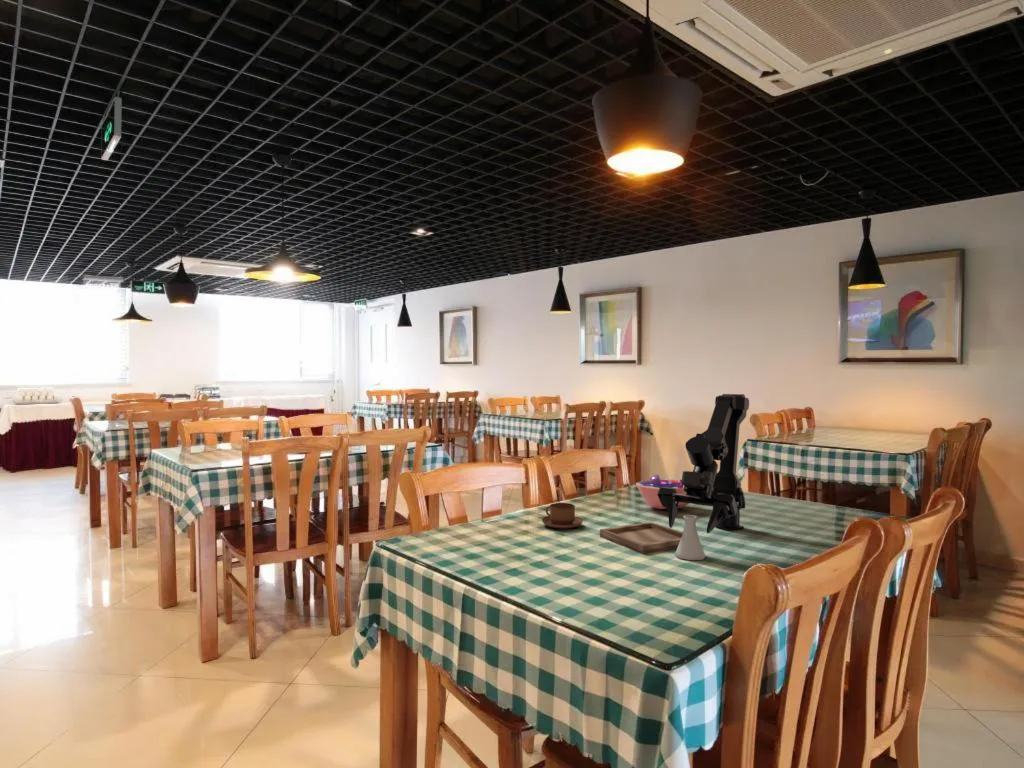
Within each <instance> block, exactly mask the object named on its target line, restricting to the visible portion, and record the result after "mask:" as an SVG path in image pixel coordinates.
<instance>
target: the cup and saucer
mask: <svg viewBox="0 0 1024 768" xmlns="http://www.w3.org/2000/svg"><path fill="white" fill-rule="evenodd" d="M575 509H576V506H575V504H573V503H568V502H554V503H551V504H549V506H547V507H545V513H546V515H547V516H544V517H543V518H541V521H542V523H543V524H544V525H545V526H547V527H549V528H554V529H560V530H562V529H565V530H567V529H573V528H577V527H579V526H581V525H582V524H583V519H582V518H581V517H579V516H576V515H575V513H576V510H575ZM548 510H549V512H548Z"/></svg>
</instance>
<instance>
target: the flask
mask: <svg viewBox="0 0 1024 768" xmlns="http://www.w3.org/2000/svg"><path fill="white" fill-rule="evenodd" d="M682 518H683V519H684V525H683V531H682V532H683V534H682V537H681V540H680V543H679V545H678V548H676V551H675V554H674V556H676V557H677V558H678V559H682V560H688V561H702V560H704V559H705V558H706V554H705V550H704V548H703V546H702V543H701V541H700V538H699V533H698V531H697V518H698V516H697V515H694V514H693V515H692V514H684V515H683V517H682Z"/></svg>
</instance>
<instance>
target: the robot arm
mask: <svg viewBox="0 0 1024 768" xmlns="http://www.w3.org/2000/svg"><path fill="white" fill-rule="evenodd" d="M714 404H715V405H714V409H713V410H712V411H713V412H712V413H711V417H710V420H709V424H708V427H707V428H706V430H705V431H703V432H701V433H696V434H695V436H693V437H691V438H689V439H688V440H687V441H686V442H685V450H686V452H687V455H688V458H689V461H690V463H691V465H693V469H692V471H690V470H689V471H687V470H683V471H682V477H681V480H682V481H681V484H683V485H684V488H683V489H684V492H687V493H686V495H685V494H677V492H676V490H675V488H668V487H661V488H660V489H659V491H658V494H657V495H658V497H659V500H660V502H661V504H662V506H663V507H665V508H666V509H665V510H667V514H668V526H669V528H671V529H673V527H674V523H675V521H676V517H677V515H678V511H679V510H678V509H679V508H677V507H678V505H679V502H683V503H689V504H692V505H697V506H703V507H705V506H706V507H712V511H711V514H710V517H709V519H708V523H707V526H706V533H707V534H710V533H711V532H712V531H713V530H714V529H715V528H719V529H721V530H726V531H734V530H740V529H744V527H745V526H744V525H742V524H741V525H740V522H741V521H740V520H741V519H740V518H741V517H740V516H741V515H740V513H741V512H740V511H741V510H743V509H746V498H745V494H744V491H743V488H742V483H741V480H740V478H739V477H738V475H737V466H738V465H737V464H738V450H739V438H740V429H741V428H740V425H741V424H742V422H743V421H744V420H745V419H746V418H747V411H748V410H749V408H750V399H749V398H748V397H746V395H745V394H743V393H722V394H721V395H720V394H719V395H717V396H715V400H714ZM717 461H720V462H719V466H718V463H717ZM718 468H719V470H718Z"/></svg>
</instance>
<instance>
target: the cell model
mask: <svg viewBox="0 0 1024 768" xmlns="http://www.w3.org/2000/svg"><path fill="white" fill-rule="evenodd" d="M681 481H682V479H679V480H675V479H665V478H664V479H661V477H660V475H659V474H655V475H653V476H651V477H650V478H649V479H648V480H641V481H638V482H636V483H635V485H636V487H637V489H638V491H639V492H640V494H641V496H642V498H643V499H644V502H645V504H646V505H647V506H649V507H651V508H654V509H657V510H667V509H666V508H665V507H663V506H662V504H661V502H660V500H659V497H658V495H657V494H658V491H659V489H660V488H661V487H668V488H675V490H676V492H677V494H685V495H686V493H687V492H684V489H683V488H684V485H683V484H681ZM688 505H690V503H683V502H679V505H678V507H677V509H680V508H681V509H682V508H684V507H686V506H688Z"/></svg>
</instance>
